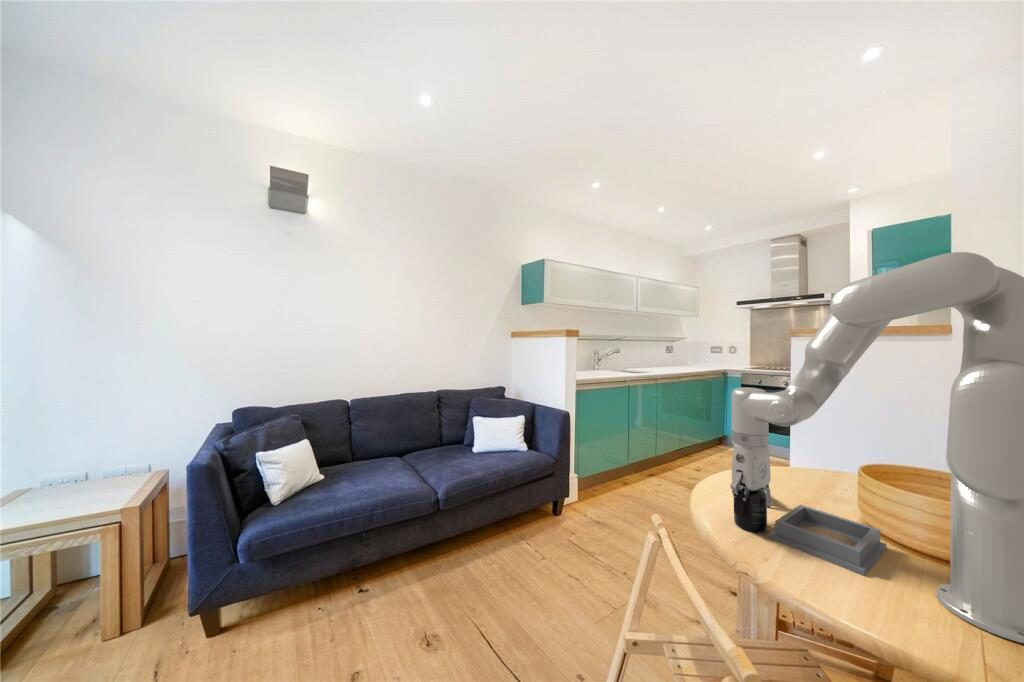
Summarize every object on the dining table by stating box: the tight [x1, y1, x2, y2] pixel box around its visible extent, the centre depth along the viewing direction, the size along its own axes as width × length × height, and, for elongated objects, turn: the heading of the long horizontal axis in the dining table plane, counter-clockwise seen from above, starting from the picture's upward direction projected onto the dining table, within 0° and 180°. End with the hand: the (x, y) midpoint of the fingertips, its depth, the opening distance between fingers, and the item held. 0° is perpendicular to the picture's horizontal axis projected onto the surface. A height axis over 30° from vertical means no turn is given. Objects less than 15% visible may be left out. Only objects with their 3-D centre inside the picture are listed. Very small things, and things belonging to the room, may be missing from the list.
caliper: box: [764, 483, 772, 508], centre depth 108 cm, size 20×1×6 cm, turn 163°
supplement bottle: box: [733, 483, 768, 534], centre depth 89 cm, size 7×7×12 cm
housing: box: [769, 504, 887, 576], centre depth 81 cm, size 16×16×4 cm
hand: (749, 509), depth 89 cm, fingers open, 7 cm apart
